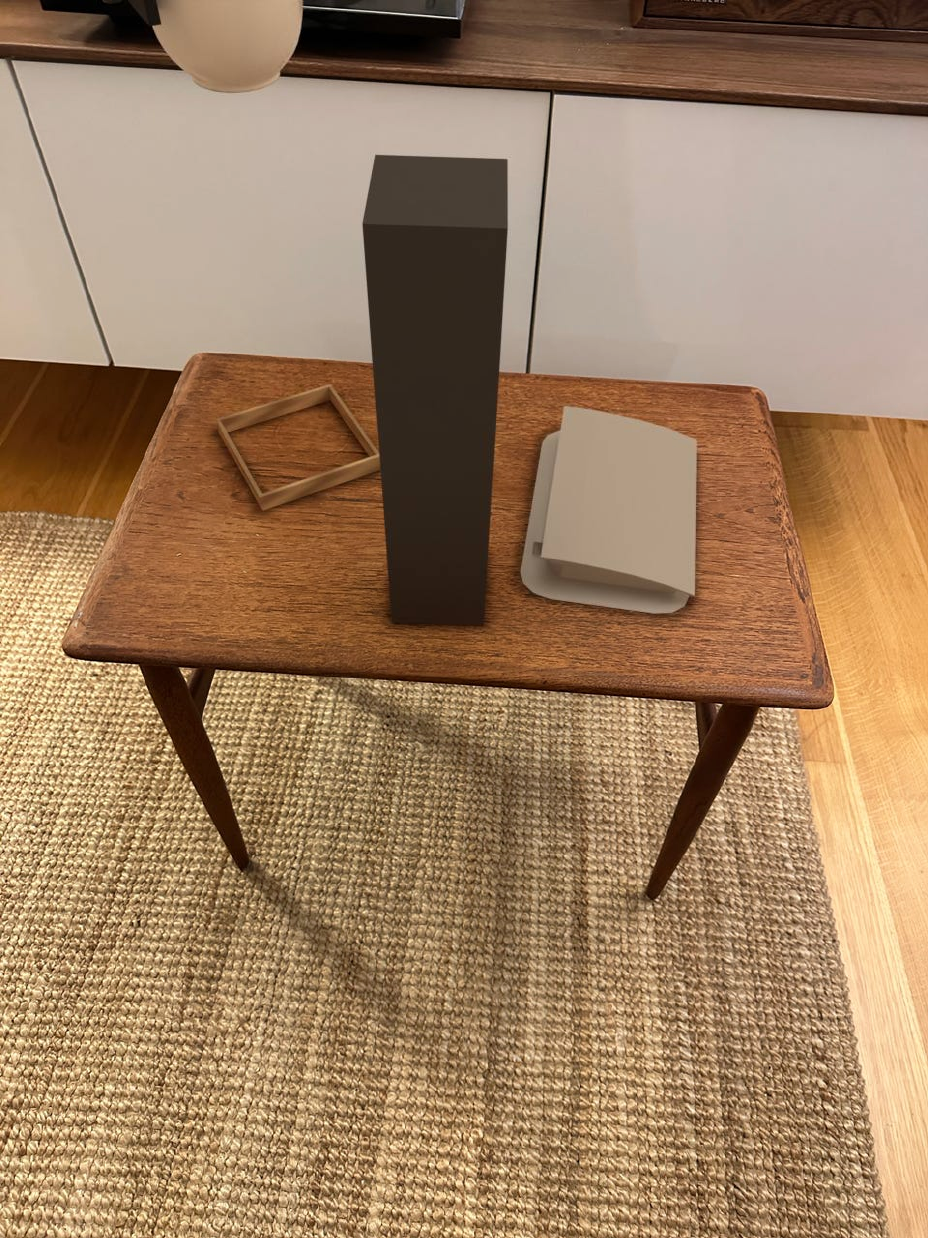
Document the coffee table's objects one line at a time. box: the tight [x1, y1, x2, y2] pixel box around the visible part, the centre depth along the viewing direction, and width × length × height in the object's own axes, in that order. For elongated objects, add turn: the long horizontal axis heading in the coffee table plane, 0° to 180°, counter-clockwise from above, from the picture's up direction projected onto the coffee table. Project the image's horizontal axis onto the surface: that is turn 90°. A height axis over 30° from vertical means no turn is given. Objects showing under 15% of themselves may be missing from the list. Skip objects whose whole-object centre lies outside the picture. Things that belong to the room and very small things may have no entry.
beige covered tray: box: [519, 405, 698, 615], centre depth 85 cm, size 15×23×4 cm, turn 170°
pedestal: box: [361, 154, 509, 627], centre depth 66 cm, size 8×8×36 cm
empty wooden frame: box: [215, 383, 380, 511], centre depth 90 cm, size 13×13×2 cm
